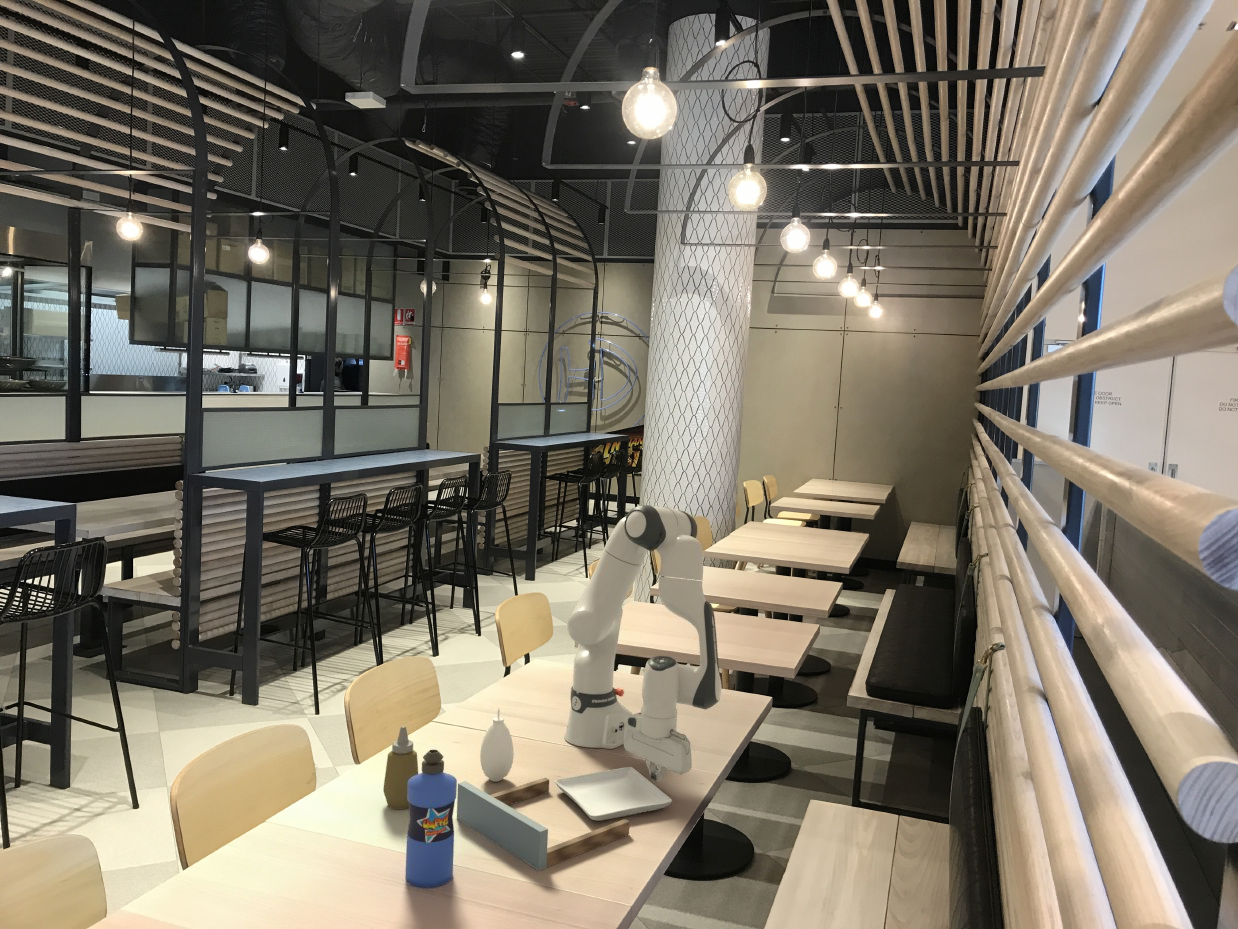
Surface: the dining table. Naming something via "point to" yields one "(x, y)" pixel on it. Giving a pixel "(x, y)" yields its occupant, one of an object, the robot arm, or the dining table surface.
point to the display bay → (525, 825)
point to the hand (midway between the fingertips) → (655, 779)
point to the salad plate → (613, 793)
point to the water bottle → (430, 824)
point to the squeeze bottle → (400, 771)
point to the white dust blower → (497, 750)
